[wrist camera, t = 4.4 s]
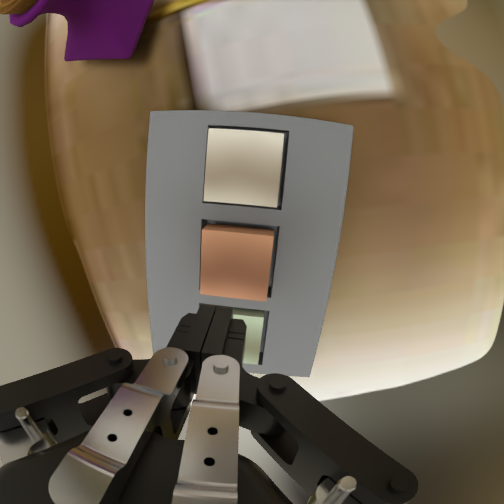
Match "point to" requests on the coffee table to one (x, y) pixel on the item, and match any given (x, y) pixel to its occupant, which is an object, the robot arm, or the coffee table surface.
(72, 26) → the perfume bottle
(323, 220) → the tile board
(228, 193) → the cream tile
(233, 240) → the terracotta tile
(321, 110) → the coffee table surface
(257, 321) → the sage tile
